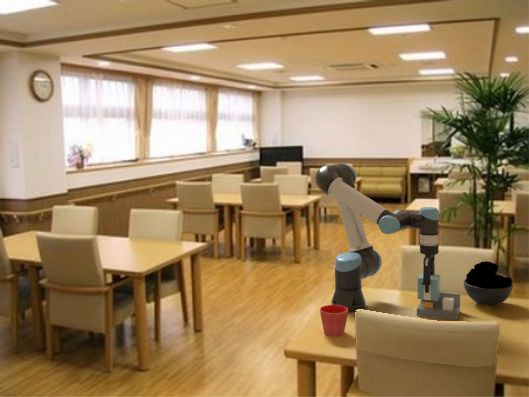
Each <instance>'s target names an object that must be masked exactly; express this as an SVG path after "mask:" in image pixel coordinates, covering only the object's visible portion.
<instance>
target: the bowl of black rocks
mask: <svg viewBox="0 0 529 397" xmlns="http://www.w3.org/2000/svg"><path fill="white" fill-rule="evenodd" d="M499 268H500V266H499V265H498V264H496V263H495V262H492V261H488V260H484V261H480V262H478V263H476V264H474V265H473V268H471V269H470V270H469V271H468V273H467V274H466V276H465V279H464V280H463V287H464V291H465V292H466V294H467V296H468V297H469V298H470V299H471V300H472V301H473V302H475V303H477V304H479V305H481V306H485V307H486V306H487V307H489V306H490V307H493V306H498V305H500V304H502V303H504V302H505V301H506V300H507V299H509V297H510V295H512V291H513V287H514V284H513V280H512V277H510V276H506V277H505V276H503V275H500V274H497V272H498V269H499Z"/></svg>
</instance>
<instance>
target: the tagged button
mask: <svg viewBox="0 0 529 397" xmlns="http://www.w3.org/2000/svg"><path fill="white" fill-rule="evenodd" d="M423 307H425V308H434V301H433V300H424V301H423Z"/></svg>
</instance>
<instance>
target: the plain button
mask: <svg viewBox="0 0 529 397" xmlns="http://www.w3.org/2000/svg"><path fill="white" fill-rule="evenodd" d="M443 310H451V311H453V310H454V298H446V297H444V298H443Z"/></svg>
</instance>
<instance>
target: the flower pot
mask: <svg viewBox="0 0 529 397" xmlns="http://www.w3.org/2000/svg"><path fill="white" fill-rule="evenodd" d="M319 312H320V318H321V324H322V329H323V333H324V334H325V335H327V336H330V337H340V336H343V335H344V334H345V331H346V330H345V329H346V325H347V320H348V314H349V312H348V308H346V307H344V306H340V305H331V304H327V305H323V306H321V307H320V308H319Z"/></svg>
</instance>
